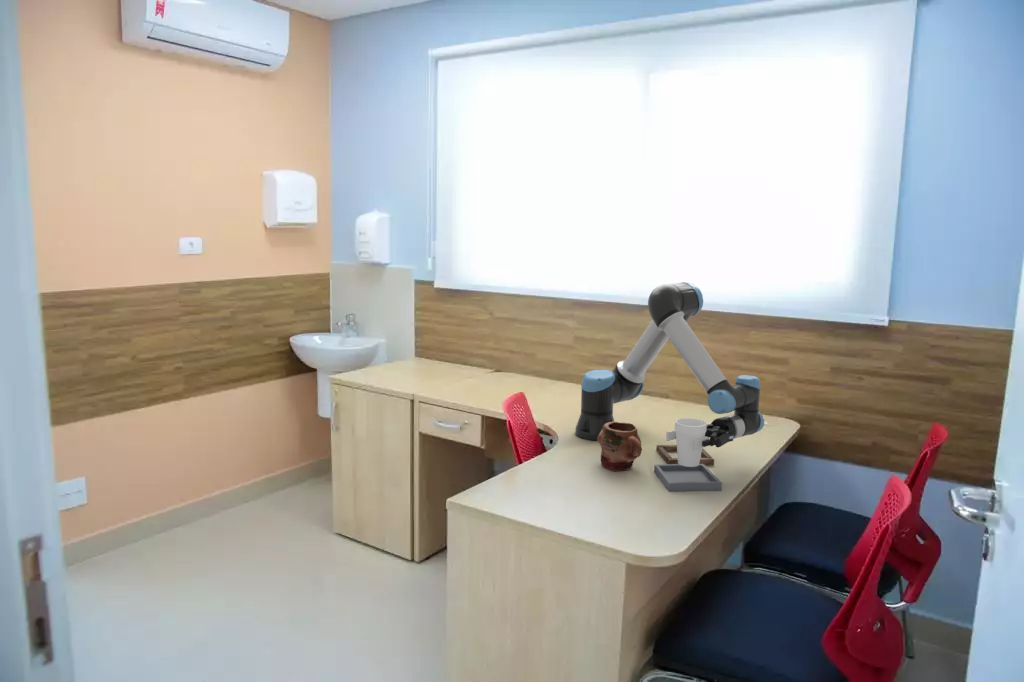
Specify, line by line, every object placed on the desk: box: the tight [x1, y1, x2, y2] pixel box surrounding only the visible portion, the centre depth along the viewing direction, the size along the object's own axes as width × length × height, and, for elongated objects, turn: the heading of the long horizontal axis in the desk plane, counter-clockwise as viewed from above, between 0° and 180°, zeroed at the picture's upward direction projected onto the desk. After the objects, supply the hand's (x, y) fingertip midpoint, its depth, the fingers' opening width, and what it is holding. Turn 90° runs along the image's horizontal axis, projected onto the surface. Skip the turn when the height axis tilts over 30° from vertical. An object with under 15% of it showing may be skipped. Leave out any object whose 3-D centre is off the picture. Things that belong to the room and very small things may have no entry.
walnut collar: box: [655, 444, 715, 466], centre depth 243 cm, size 15×15×2 cm
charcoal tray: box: [653, 463, 723, 492], centre depth 222 cm, size 16×16×2 cm
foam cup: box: [674, 417, 708, 467], centre depth 220 cm, size 10×9×13 cm
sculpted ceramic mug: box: [596, 421, 643, 472], centre depth 231 cm, size 20×12×14 cm, turn 34°
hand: (680, 440), depth 217 cm, fingers closed on foam cup, 9 cm apart
